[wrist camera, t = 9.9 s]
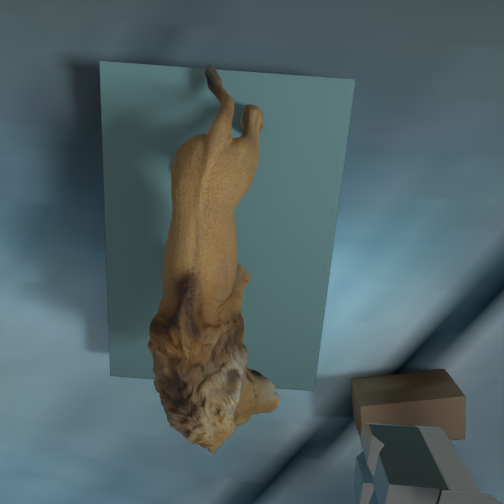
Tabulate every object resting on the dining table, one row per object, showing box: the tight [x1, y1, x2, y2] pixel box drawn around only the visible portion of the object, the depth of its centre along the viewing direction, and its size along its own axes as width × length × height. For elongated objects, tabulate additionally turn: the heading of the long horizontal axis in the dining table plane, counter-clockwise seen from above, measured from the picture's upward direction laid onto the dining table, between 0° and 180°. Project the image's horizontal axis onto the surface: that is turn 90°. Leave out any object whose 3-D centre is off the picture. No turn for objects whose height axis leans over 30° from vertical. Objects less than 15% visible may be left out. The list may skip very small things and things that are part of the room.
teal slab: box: [100, 61, 355, 391], centre depth 23 cm, size 12×17×2 cm
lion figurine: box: [148, 65, 280, 454], centre depth 17 cm, size 15×5×9 cm, turn 3°
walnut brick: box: [351, 369, 465, 440], centre depth 26 cm, size 6×3×3 cm, turn 98°
